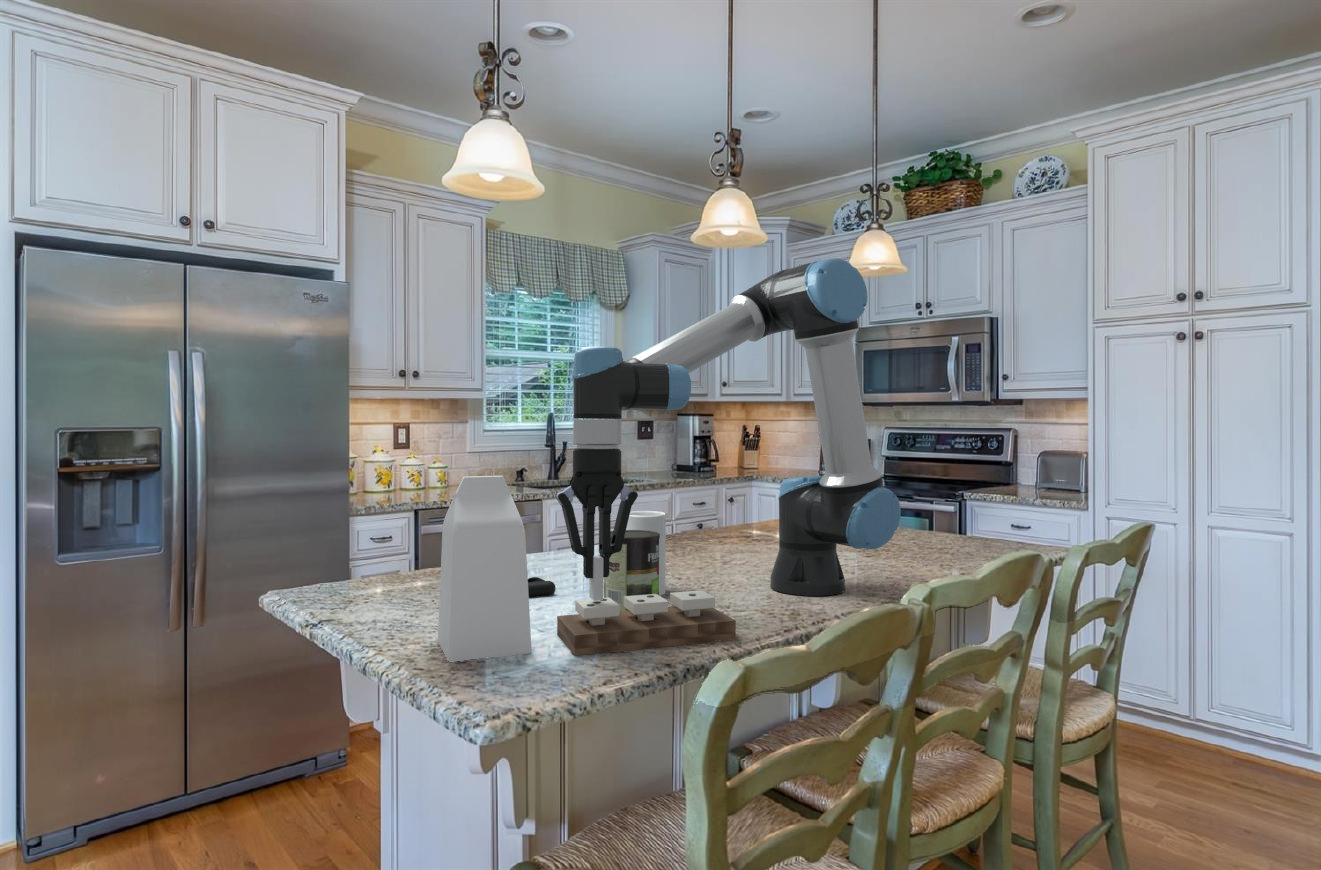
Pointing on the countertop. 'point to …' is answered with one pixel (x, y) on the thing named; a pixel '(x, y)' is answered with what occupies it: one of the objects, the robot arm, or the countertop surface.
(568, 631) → the button panel
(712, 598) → the button
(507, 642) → the milk
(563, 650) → the countertop surface
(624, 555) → the coffee can
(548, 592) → the door handle
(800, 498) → the robot arm
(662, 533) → the cup
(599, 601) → the button
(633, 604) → the button
